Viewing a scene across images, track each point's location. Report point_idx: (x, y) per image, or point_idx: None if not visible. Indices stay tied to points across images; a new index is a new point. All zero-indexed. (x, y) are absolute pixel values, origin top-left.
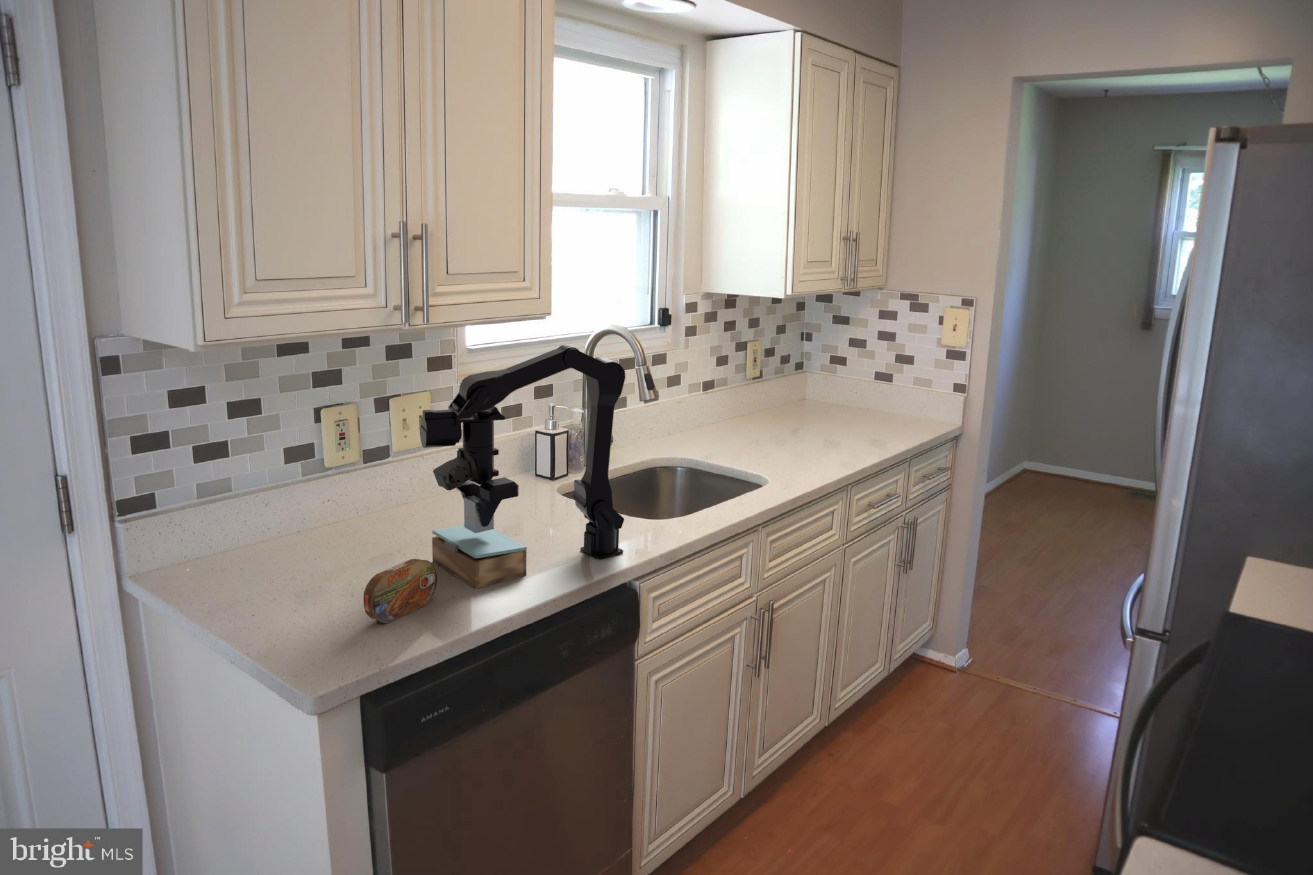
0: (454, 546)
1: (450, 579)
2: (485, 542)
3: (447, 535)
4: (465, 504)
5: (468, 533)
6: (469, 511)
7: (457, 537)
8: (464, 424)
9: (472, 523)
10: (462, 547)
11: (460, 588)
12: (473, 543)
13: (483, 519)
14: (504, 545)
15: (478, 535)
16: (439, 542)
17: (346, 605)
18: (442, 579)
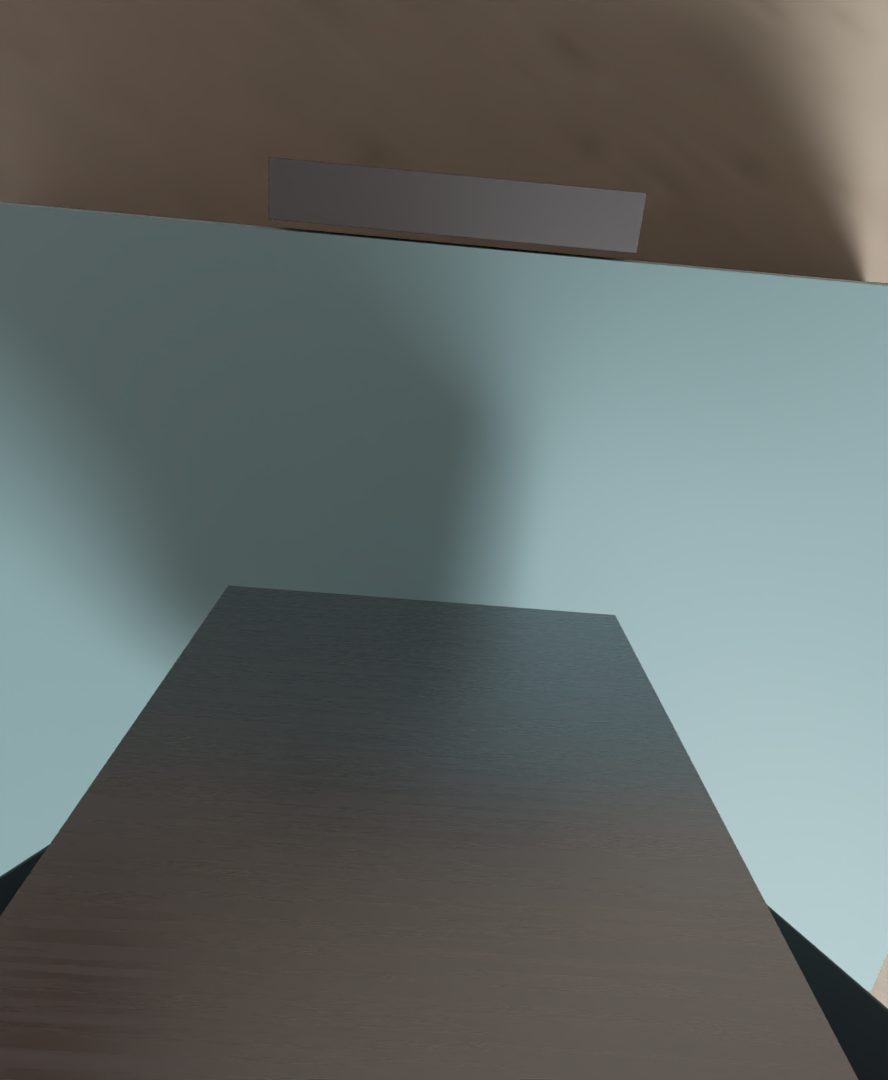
0: (306, 163)
1: (366, 157)
2: None
3: (787, 369)
4: (713, 1015)
5: (671, 678)
6: (423, 851)
7: (619, 450)
8: None
9: (296, 667)
10: (153, 223)
11: (104, 95)
12: (259, 492)
13: (12, 868)
14: (29, 774)
15: None
16: (843, 279)
17: None
18: (418, 87)
